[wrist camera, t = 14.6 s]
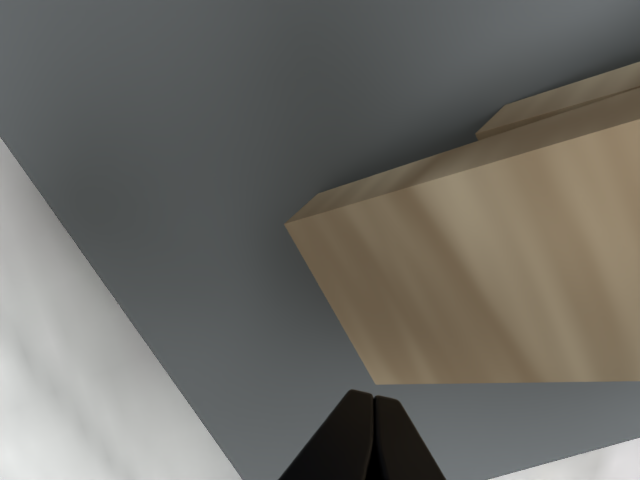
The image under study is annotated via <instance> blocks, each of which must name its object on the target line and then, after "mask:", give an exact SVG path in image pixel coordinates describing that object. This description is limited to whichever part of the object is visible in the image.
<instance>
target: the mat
mask: <svg viewBox="0 0 640 480" xmlns="http://www.w3.org/2000/svg"><path fill="white" fill-rule="evenodd" d="M637 62H640V0H0V137H1V138H2V140H3V141H4V143H5V144H6V145H7V147H8V148H9V150H10V151H11V152H12V154H13V155H14V157H15V158H16V159H17V161H18V162H19V164H20V165H21V167H22V168H23V169H24V171H25V172H26V174H27V175H28V176H29V178H30V179H31V181H32V182H33V184H34V185H35V186H36V188H37V189H38V191H39V192H40V193H41V195H42V196H43V198H44V199H45V201H46V202H47V203H48V205H49V206H50V208H51V209H52V210H53V212H54V213H55V215H56V216H57V218H58V219H59V220H60V222H61V223H62V225H63V226H64V227H65V229H66V230H67V232H68V233H69V234H70V236H71V237H72V239H73V240H74V242H75V243H76V244H77V246H78V247H79V249H80V250H81V251H82V253H83V254H84V256H85V257H86V259H87V260H88V261H89V263H90V264H91V266H92V267H93V268H94V270H95V271H96V273H97V274H98V276H99V277H100V278H101V280H102V281H103V283H104V284H105V285H106V287H107V288H108V290H109V291H110V293H111V294H112V295H113V297H114V298H115V300H116V301H117V302H118V304H119V305H120V307H121V308H122V309H123V311H124V312H125V314H126V315H127V317H128V318H129V319H130V321H131V322H132V324H133V325H134V326H135V328H136V329H137V331H138V332H139V334H140V335H141V336H142V338H143V339H144V341H145V342H146V343H147V345H148V346H149V348H150V349H151V351H152V352H153V353H154V355H155V356H156V358H157V359H158V360H159V362H160V363H161V365H162V366H163V368H164V369H165V370H166V372H167V373H168V375H169V376H170V377H171V379H172V380H173V382H174V383H175V384H176V386H177V387H178V389H179V390H180V392H181V393H182V394H183V396H184V397H185V399H186V400H187V401H188V403H189V404H190V406H191V407H192V409H193V410H194V411H195V413H196V414H197V416H198V417H199V418H200V420H201V421H202V423H203V424H204V426H205V427H206V428H207V430H208V431H209V433H210V434H211V435H212V437H213V438H214V440H215V441H216V443H217V444H218V445H219V447H220V448H221V450H222V451H223V452H224V454H225V455H226V457H227V458H228V459H229V461H230V462H231V464H232V465H233V467H234V468H235V469H236V471H237V472H238V474H239V475H240V476H241V478H242V479H243V480H278V479H279V478H280V476H281V475H282V474H283V473H284V471H285V470H286V469H287V468H288V466H289V465H290V464H291V463H292V461H293V460H294V459H295V457H296V456H297V455H298V454H299V452H300V451H301V450H302V449H303V447H304V446H305V445H306V444H307V442H308V441H309V440H310V438H311V437H312V436H313V435H314V433H315V432H316V431H317V430H318V428H319V427H320V426H321V425H322V423H323V422H324V421H325V419H326V418H327V417H328V416H329V414H330V413H331V412H332V411H333V409H334V408H335V407H336V406H337V404H338V403H339V402H340V400H341V399H342V398H343V397H344V395H345V394H346V393H347V392H348V391H349V390H350V389H355V390H359V391H363V392H368V393H371V394H372V395H373V397H375V396H376V395H381V396H385V397H390V398H394V399H397V400H399V401H400V402H401V404H402V406H403V407H404V409H405V411H406V412H407V414H408V416H409V417H410V419H411V421H412V422H413V424H414V426H415V427H416V429H417V431H418V433H419V434H420V436H421V438H422V439H423V441H424V443H425V444H426V446H427V448H428V449H429V451H430V453H431V454H432V456H433V458H434V459H435V461H436V463H437V465H438V466H439V468H440V470H441V471H442V473H443V475H444V476H445V478H446V480H488V479H492V478H495V477H499V476H502V475H506V474H510V473H513V472H517V471H521V470H524V469H528V468H531V467H535V466H539V465H542V464H546V463H549V462H553V461H557V460H560V459H564V458H568V457H571V456H575V455H578V454H582V453H586V452H589V451H593V450H596V449H600V448H604V447H607V446H611V445H615V444H618V443H622V442H625V441H629V440H633V439H636V438H640V381H613V382H538V383H463V384H387V385H376V384H375V383H374V381H373V379H372V377H371V376H370V374H369V372H368V370H367V369H366V367H365V365H364V363H363V362H362V360H361V358H360V356H359V355H358V353H357V351H356V349H355V348H354V346H353V344H352V342H351V341H350V339H349V337H348V335H347V334H346V332H345V330H344V328H343V327H342V325H341V323H340V321H339V320H338V318H337V316H336V314H335V313H334V311H333V309H332V307H331V306H330V304H329V302H328V300H327V299H326V297H325V295H324V293H323V292H322V290H321V288H320V286H319V285H318V283H317V281H316V279H315V278H314V276H313V274H312V272H311V271H310V269H309V267H308V265H307V264H306V262H305V260H304V258H303V257H302V255H301V253H300V251H299V250H298V248H297V246H296V244H295V243H294V241H293V239H292V237H291V236H290V234H289V232H288V230H287V229H286V227H285V225H284V224H285V223H286V222H287V221H288V220H289V219H290V218H291V217H292V216H293V215H295V214H296V213H297V212H298V211H299V210H300V209H301V208H302V207H303V206H305V205H306V204H307V203H308V202H309V201H310V200H311V199H312V198H313V197H314V196H316V195H317V194H318V193H321V192H324V191H327V190H330V189H333V188H336V187H339V186H342V185H345V184H348V183H351V182H355V181H358V180H361V179H364V178H367V177H370V176H373V175H376V174H379V173H382V172H385V171H388V170H391V169H394V168H397V167H400V166H403V165H406V164H409V163H412V162H415V161H418V160H421V159H424V158H427V157H430V156H434V155H437V154H440V153H443V152H446V151H449V150H452V149H455V148H458V147H461V146H464V145H467V144H470V143H473V142H476V141H478V139H477V137H476V134H475V133H476V132H477V131H478V130H480V129H481V128H482V127H483V126H484V125H485V124H486V123H487V122H488V121H489V120H490V119H491V118H492V117H493V116H494V115H495V114H496V113H497V112H498V111H499V110H500V109H501V108H502V107H503V106H504V105H506V104H509V103H512V102H516V101H519V100H522V99H525V98H528V97H531V96H534V95H537V94H540V93H543V92H547V91H550V90H553V89H556V88H559V87H562V86H565V85H568V84H571V83H575V82H578V81H581V80H584V79H587V78H590V77H593V76H596V75H599V74H603V73H606V72H609V71H612V70H615V69H618V68H621V67H624V66H627V65H631V64H634V63H637Z"/></svg>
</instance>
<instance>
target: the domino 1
mask: <svg viewBox="0 0 640 480" xmlns="http://www.w3.org/2000/svg"><path fill="white" fill-rule="evenodd" d="M284 225H285V227H286V229H287V230H288V232H289V234H290V236H291V237H292V239H293V241H294V243H295V244H296V246H297V248H298V250H299V251H300V253H301V255H302V257H303V258H304V260H305V262H306V264H307V265H308V267H309V269H310V271H311V272H312V274H313V276H314V278H315V279H316V281H317V283H318V285H319V286H320V288H321V290H322V292H323V293H324V295H325V297H326V299H327V300H328V302H329V304H330V306H331V307H332V309H333V311H334V313H335V314H336V316H337V318H338V320H339V321H340V323H341V325H342V327H343V328H344V330H345V332H346V334H347V335H348V337H349V339H350V341H351V342H352V344H353V346H354V348H355V349H356V351H357V353H358V355H359V356H360V358H361V360H362V362H363V363H364V365H365V367H366V369H367V370H368V372H369V374H370V376H371V377H372V379H373V381H374V383H375V384H376V385H387V384H463V383H538V382H613V381H640V88H637V89H634V90H631V91H628V92H625V93H622V94H619V95H616V96H613V97H610V98H607V99H604V100H601V101H598V102H595V103H592V104H589V105H585V106H582V107H579V108H576V109H573V110H570V111H567V112H564V113H561V114H558V115H555V116H552V117H549V118H546V119H543V120H540V121H537V122H534V123H531V124H528V125H525V126H522V127H519V128H516V129H513V130H510V131H506V132H503V133H500V134H497V135H494V136H491V137H488V138H485V139H482V140H479V141H476V142H473V143H470V144H467V145H464V146H461V147H458V148H455V149H452V150H449V151H446V152H443V153H440V154H437V155H434V156H430V157H427V158H424V159H421V160H418V161H415V162H412V163H409V164H406V165H403V166H400V167H397V168H394V169H391V170H388V171H385V172H382V173H379V174H376V175H373V176H370V177H367V178H364V179H361V180H358V181H355V182H351V183H348V184H345V185H342V186H339V187H336V188H333V189H330V190H327V191H324V192H321V193H318V194H317V195H316V196H314V197H313V198H312V199H311V200H310V201H309V202H308V203H307V204H306V205H305V206H303V207H302V208H301V209H300V210H299V211H298V212H297V213H296V214H295V215H293V216H292V217H291V218H290V219H289V220H288V221H287V222H286V223H285V224H284Z"/></svg>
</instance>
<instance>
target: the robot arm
mask: <svg viewBox="0 0 640 480" xmlns="http://www.w3.org/2000/svg"><path fill="white" fill-rule="evenodd" d="M278 480H446V478H445V476H444V475H443V473H442V471H441V470H440V468H439V466H438V465H437V463H436V461H435V459H434V458H433V456H432V454H431V453H430V451H429V449H428V448H427V446H426V444H425V443H424V441H423V439H422V438H421V436H420V434H419V433H418V431H417V429H416V427H415V426H414V424H413V422H412V421H411V419H410V417H409V416H408V414H407V412H406V411H405V409H404V407H403V406H402V404H401V402H400V401H399V400H397V399H394V398H390V397H385V396H381V395H376V396H375V397H373V395H372V394H371V393H368V392H363V391H359V390H355V389H350V390H349V391H348V392H347V393H346V394H345V395H344V397H343V398H342V399H341V400H340V402H339V403H338V404H337V406H336V407H335V408H334V409H333V411H332V412H331V413H330V414H329V416H328V417H327V418H326V419H325V421H324V422H323V423H322V425H321V426H320V427H319V428H318V430H317V431H316V432H315V433H314V435H313V436H312V437H311V438H310V440H309V441H308V442H307V444H306V445H305V446H304V447H303V449H302V450H301V451H300V452H299V454H298V455H297V456H296V457H295V459H294V460H293V461H292V463H291V464H290V465H289V466H288V468H287V469H286V470H285V471H284V473H283V474H282V475H281V476H280V478H279V479H278Z"/></svg>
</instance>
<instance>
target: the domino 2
mask: <svg viewBox="0 0 640 480" xmlns="http://www.w3.org/2000/svg"><path fill="white" fill-rule="evenodd" d="M637 88H640V62H637V63H634V64H631V65H627V66H624V67H621V68H618V69H615V70H612V71H609V72H606V73H603V74H599V75H596V76H593V77H590V78H587V79H584V80H581V81H578V82H575V83H571V84H568V85H565V86H562V87H559V88H556V89H553V90H550V91H547V92H543V93H540V94H537V95H534V96H531V97H528V98H525V99H522V100H519V101H516V102H512V103H509V104H506V105H504V106H503V107H502V108H501V109H500V110H499V111H498V112H497V113H496V114H495V115H494V116H493V117H492V118H491V119H490V120H489V121H488V122H487V123H486V124H485V125H484V126H483V127H482V128H481V129H480V130H478V131H477V132H476V133H475V134H476V137H477V139H478V141H479V140H482V139H485V138H488V137H491V136H494V135H497V134H500V133H503V132H506V131H510V130H513V129H516V128H519V127H522V126H525V125H528V124H531V123H534V122H537V121H540V120H543V119H546V118H549V117H552V116H555V115H558V114H561V113H564V112H567V111H570V110H573V109H576V108H579V107H582V106H585V105H589V104H592V103H595V102H598V101H601V100H604V99H607V98H610V97H613V96H616V95H619V94H622V93H625V92H628V91H631V90H634V89H637Z"/></svg>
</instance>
